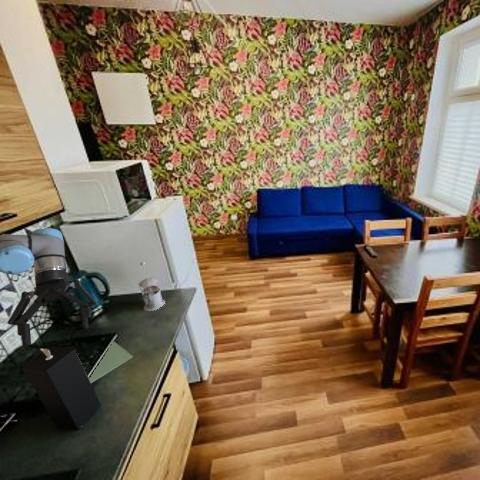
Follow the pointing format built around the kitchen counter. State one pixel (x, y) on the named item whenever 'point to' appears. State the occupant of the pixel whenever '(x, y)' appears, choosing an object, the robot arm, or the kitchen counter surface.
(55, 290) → the robot arm
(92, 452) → the kitchen counter surface
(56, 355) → the tissue box
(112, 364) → the mat
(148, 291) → the french press
